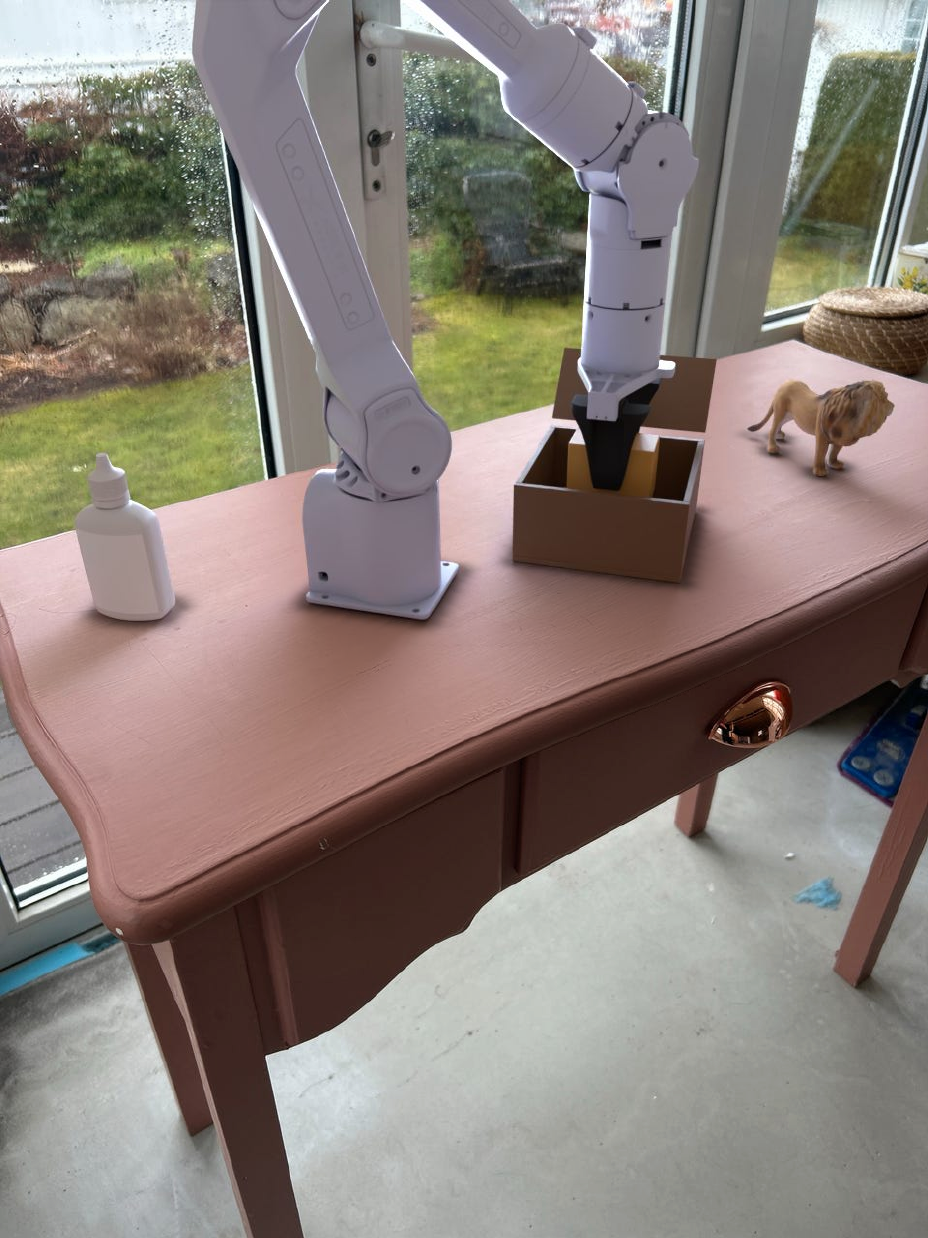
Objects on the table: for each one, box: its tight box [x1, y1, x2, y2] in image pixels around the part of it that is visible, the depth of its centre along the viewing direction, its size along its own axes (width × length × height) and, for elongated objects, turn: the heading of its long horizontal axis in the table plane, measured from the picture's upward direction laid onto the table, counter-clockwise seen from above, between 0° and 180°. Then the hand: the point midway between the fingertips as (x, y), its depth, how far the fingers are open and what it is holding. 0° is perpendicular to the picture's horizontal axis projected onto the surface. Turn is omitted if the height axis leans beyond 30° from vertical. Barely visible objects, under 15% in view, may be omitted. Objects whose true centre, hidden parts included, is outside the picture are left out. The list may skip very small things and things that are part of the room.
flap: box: [551, 347, 718, 434], centre depth 80 cm, size 13×6×1 cm
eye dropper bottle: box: [74, 452, 176, 622], centre depth 66 cm, size 4×6×12 cm
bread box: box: [511, 424, 706, 584], centre depth 77 cm, size 13×13×6 cm
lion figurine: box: [746, 379, 896, 477], centre depth 89 cm, size 15×5×9 cm, turn 33°
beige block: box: [567, 426, 661, 498], centre depth 74 cm, size 6×4×5 cm, turn 73°
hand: (611, 477), depth 75 cm, fingers closed on beige block, 3 cm apart
